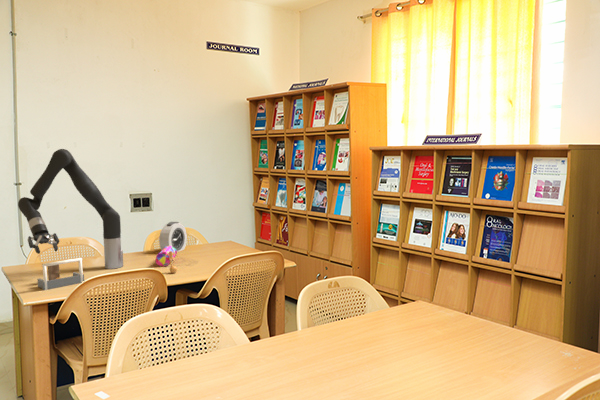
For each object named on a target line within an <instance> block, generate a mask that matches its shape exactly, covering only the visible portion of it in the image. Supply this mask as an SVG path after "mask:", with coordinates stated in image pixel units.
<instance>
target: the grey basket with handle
mask: <svg viewBox="0 0 600 400" xmlns="http://www.w3.org/2000/svg"><path fill="white" fill-rule="evenodd" d="M76 262H78V272H77V271H73V272H72V275H71V276H67V277H60V279H54V280H49V279H48V266H53V265H59V266H60V265H64V264H70V263H76ZM41 267H42V277H43V278H40V277H39V278H37V287H38V288H40V289H42V291H47V290H51V289H57V288H62V287H66V286H72V285H77V284H78V285H79V284H82V283H81V282H82V281H84V282H85V274H83V273H84V272H83V257H77V258H70V259H65V260H58V261H51V262H46V263H41Z"/></svg>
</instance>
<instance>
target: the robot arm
mask: <svg viewBox="0 0 600 400" xmlns="http://www.w3.org/2000/svg"><path fill="white" fill-rule="evenodd" d="M62 170H64V171H65V172H66V173H67V175H68V176H69V177H70V180H71V181H72V183H73V185H74V187H75V189H76V190H77V191H78V192H79V194H80V195H81V196H82V198H84V200H85V201H86V202H88V203H89V204H90V206H92V207H93V209H95V211H96V212H97V214H98V215H99V216H100V218H101V220H102V226H103V227H102V228H103V232H102V233H103V234H102V237H103V256H104V269H108V270H109V269H111V270H113V269H119V268H120V269H121V268H123V267H124V251H123V249H122V240H121V239H122V237H121V233H122V230H121V226H122V225H121V216H120V214H119V213H118V211H116V210H115V209H114V208H113V207H112V206H111V205H110V204H109V203H108V202H107V201H106V198H105V197H104V196H103V193H102V192H101V190H100V189H99V188H98V186H97V185H96V184H95V183H94V181H93V180H92V179H91V178H90V177H89V175H87V173H86V172H85V171H84V170H83V169H82V168H81V167H80V166H79V163H78V162H77V161H76V159H75V157H74V156H73V155H72V152H70V150H68V149H66V148H65V149H64V148H59V149H57V150H56V151H54V152H53V153H52V155H51V157H50V160H49V162H48V164H47V166H46V168H45V170H44V171H43V173H42V174H41V175H40V176H39V178H38V179H37V181H36V182H35V183H34V185H33V186H32V187H31V189H30V191H29V194H30V195H32V197H33V198H30V197H25V196H24V197H21V198H20V199H19V200H18V202H17V206H18V210H19V211H20V212H21V214H22V215H23V217H25V218H26V220H27V224H28V227H29V230H30V232H31V235H32V236H30V235H29V236H28V237H27V243H28V246H29V248H30V249H34V250H35V253H36V254H37V255H39V254H41V250H40V247H39V245H43V244H48V245H52V248H53V249H54V251H55V252H57V251H58V250H59V247H58V245H59V243H60V239H59V237H58V235H57V233H55V232H54V233H53V234H50V233H49V229H48V227H47V225H46V223H45V221H44V219H43V217H42V215H41V213H40V211H38V210H39V209H40V207H41V204H42V201H43V199H44V196H45V195H46V193H47V191H49V189H50V187H51V185H52V184H53V182H54V180H55V178H56V177H57V175H58V174H59V173H60V172H61V171H62ZM33 241H34V242H35V244H34V243H33Z"/></svg>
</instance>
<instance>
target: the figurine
mask: <svg viewBox="0 0 600 400" xmlns="http://www.w3.org/2000/svg"><path fill="white" fill-rule="evenodd" d="M173 254H175V253H173V252H172V251H170V252H169V253H168V254H166V255H165V261H166V256H167V255H169V256H170V258H169V260H170V263H169V265H170V267H169V272H170V273H172V274H175V273H177V271H178V268H177V266H176V265H175V261H176V260H175V258H174V257H172V256H173ZM175 255H176V256H175V257H177V258H178V259H179V256H178V254H175ZM172 261H173V262H172Z"/></svg>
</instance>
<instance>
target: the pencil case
mask: <svg viewBox="0 0 600 400" xmlns="http://www.w3.org/2000/svg"><path fill="white" fill-rule="evenodd" d="M170 251H172V252H173V253H175V254H176V255H178V252H177V250H176V249H175V248H174V247H172V246H166V247H165V248H164V249H163V250H161V251H160V252H158V253H157V254H156V256H155V264H156V265H157V266H158V267H167V266H168V265H170V260H169V258H170V256H169V255H167V256H166V261H165V255H166V254H168V253H169V252H170ZM175 254H173V256H172V257H174V259H175V258H176V257H177V256H176V255H175Z"/></svg>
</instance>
